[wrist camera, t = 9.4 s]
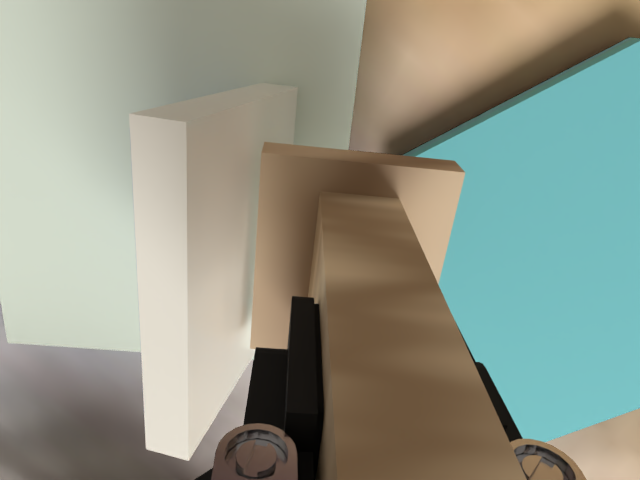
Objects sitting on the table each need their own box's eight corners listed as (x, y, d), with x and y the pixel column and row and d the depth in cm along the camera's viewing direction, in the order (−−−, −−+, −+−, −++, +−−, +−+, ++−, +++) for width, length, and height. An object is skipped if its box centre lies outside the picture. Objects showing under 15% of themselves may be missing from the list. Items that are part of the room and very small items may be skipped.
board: (371, -52, 18) (373, -55, 18) (321, 357, 25) (322, 364, 25) (-58, -103, 17) (-70, -107, 17) (14, 335, 24) (7, 342, 24)
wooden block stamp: (454, 160, 16) (711, 445, 6) (413, 340, 19) (534, 733, 9) (264, 141, 15) (182, 411, 5) (253, 328, 18) (187, 725, 8)
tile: (297, 87, 19) (186, 121, 11) (280, 312, 23) (188, 461, 15) (258, 81, 19) (120, 112, 11) (247, 305, 23) (140, 447, 15)
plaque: (439, 447, 30) (808, 312, 25) (446, 477, 28) (845, 337, 23) (291, 201, 23) (753, -34, 19) (289, 218, 21) (800, -38, 17)
